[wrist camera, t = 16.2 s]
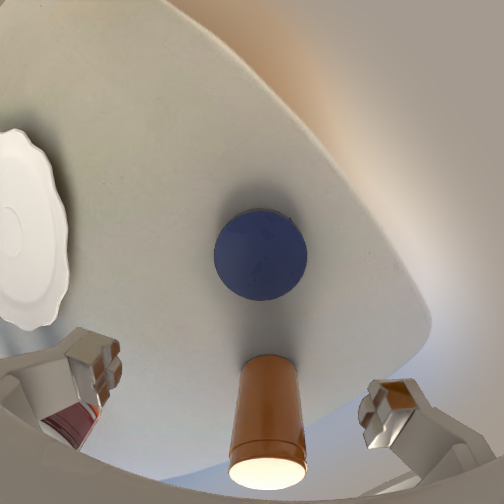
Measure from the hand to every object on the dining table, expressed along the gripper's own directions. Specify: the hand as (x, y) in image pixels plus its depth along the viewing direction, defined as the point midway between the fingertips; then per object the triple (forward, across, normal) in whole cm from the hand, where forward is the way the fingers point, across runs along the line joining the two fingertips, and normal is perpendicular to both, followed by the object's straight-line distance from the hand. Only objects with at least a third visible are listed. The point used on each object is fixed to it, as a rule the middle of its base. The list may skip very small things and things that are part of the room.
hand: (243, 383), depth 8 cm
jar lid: (+12, 0, -1) cm, 12 cm away
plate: (+13, +26, +1) cm, 29 cm away
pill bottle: (+13, +18, +21) cm, 31 cm away
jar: (+13, -3, +10) cm, 17 cm away
